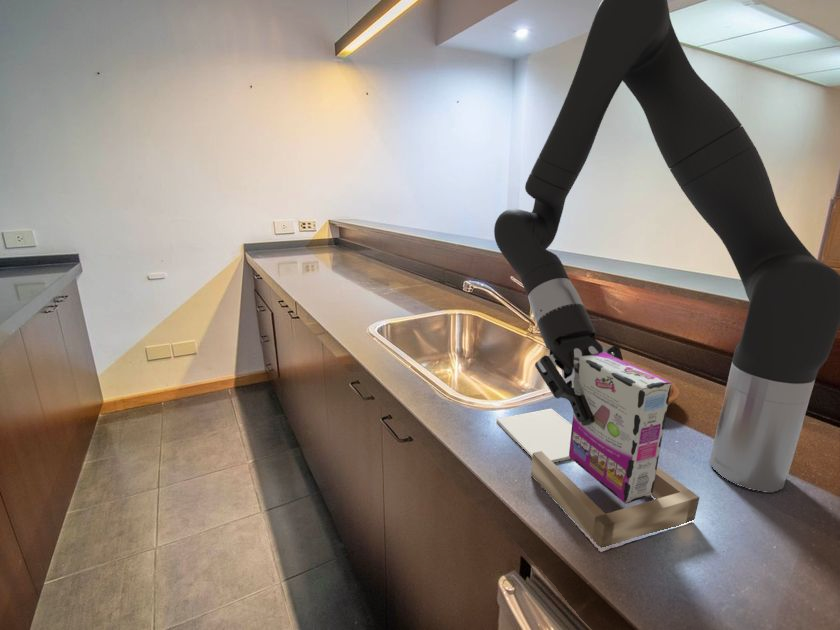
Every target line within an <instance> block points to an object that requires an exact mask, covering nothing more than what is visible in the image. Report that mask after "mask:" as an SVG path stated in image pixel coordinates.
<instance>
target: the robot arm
mask: <svg viewBox="0 0 840 630" xmlns="http://www.w3.org/2000/svg"><path fill="white" fill-rule="evenodd" d="M668 3H669V2H668V0H602V1H601V2H600V4H599V5H598V8H597V10H596V12H595V14H594V17H593V21H592V23H591V27H590V29H589V32H588V35H587V38H586V41H585V44H584V48H583V50H582V54H581V57H580V60H579V62H578V66H577V68H576V70H575V74H574V75H573V76H574V77H573V79H572V82H571V85H570V87H569V90H568V92H567V95H566V97H565V99H564V102H563V104H562V106H561V109H560V111H559V113H558V116H557V117H556V120H555V122H554V124H553V126H552V129H551V130H550V133H549V135H548V137H547V139H546V140H545V142H544V145H543V147H542V148H541V150H540V153H539V154H538V157H537V159H536V161H535V163H534V165H533V167H532V168H531V171H530V173H529V175H528V178H527V180H526V182H525V186H524V189H525V192H526V194H527V195H528V196H530V197H531V198H532V199H534V203H533V209H532V211H528V210H527V211H526V210H525V209H524V210H523V209H518V208H510V209H509V208H508V209H506V210H505V211H503V212H502V213H501V214H500V215H498V217H497V219H496V221H495V223H494V231H493V232H494V233H493V234H494V240H495V243H496V246H497V248H498V249H499V251H500V253H501V254H502V255H503V257H504V258H505V260H506V261H507V262H508V264H509V265H510V267H511V268H512V270H513V271H515V273H516V274H517V275H518V277H519V278H520V281H521V284H522V287H523V289H524V291H525V293H526V296H527V299H528V301H529V302H528V303H529V306H530V311H531V312H532V314H533V318H534V320H535V322H536V325H537V327H538V330H539V332H540V335H541V338H542V340H543V342H544V345H545V346H546V347H545V348H547V349H548V350H549V354H548V355H542V357H540V359H539V360H537V361H536V362H535V364H534V366H535V368H536V370H537V372H538V373H539V375H540V376H541V378H542V379H543V381H544V382H545V384H546V386H547V388H548V389H549V391H550V392H551V394H552V395H553V397H554V398H556V399H560V398H562V399H566V400H568V402H569V403H570V406H571V408H572V410H573V412H574V413H575V416H576V418H577V420H578V421H579V422H581V424H582V425H583V426H585V425H589V424H591V423H593V422H594V421H595V419H594V416H593V414H592V412H591V410H590V407H589V405H588V403H587V400H586V398H585V396H582V395H581V394H582V387H581V385H580V382H579V378H580V376H579V373H578V364H579V357H580V356H586V355H592V354H597V353H604V352H605V353H607V354H610V355H612V356H614V357H616V358H618V359H621V360H623V361H624V359H623V355H622V350H621V348H620V346H619V345H617V344H614V345H612V346H609V347H608V346H602V344H601V343H600V342H599V341H598V340H597V339H596V335H595V333H596V331H595V329H596V328H595V327H594V325H593V323H592V321H591V319H590V316H589V314H588V311H587V310H586V307H585V305H584V303H583V301H582V299H581V297H580V294H579V292H578V291H577V289H576V288H575V286H574V285H573V284H572V282H571V281H572V280H570V277H569V275H568V273H567V271H566V269H565V267H564V265H563V263H562V261H561V259H560V257H558V256H557V254H555V253H554V252H551V251H549V250H548V248H549V247H550V246H551V245H552V244H553V241H554V240H555V238H556V235H557V233H558V229H559V225H560V224H561V218H562V215H563V211H564V207H565V203H566V199H567V197H568V195H569V194H570V192H571V189H572V188H573V186H574V184H575V182H576V180H577V179H578V177H579V175H580V173H581V171H582V169H583V167H584V165H586V161H587V159H588V157H589V155H590V153H591V150H592V148H593V145H594V143H595V140H596V137H597V134H598V132H599V129H600V126H601V124H602V122H603V119H604V117H605V115H606V112H607V109H608V108H609V106H610V104H611V101H612V100H613V98H614V96H615V94H616V93H617V91H618V89H619V87H620V85H621V84H622V82H623V83H624V84H625V86H626V87H627V88H628V90H629V91H630V92H631V93H632V95H633V96H634V97H635V99H636V101H637V102H638V104H639V105H640V107H641V109H642V110H643V112H644V115H645V116H646V120H647V122H648V126H649V128H650V130H651V131H650V132H651V133H652V136H653V138H654V140H655V142H656V146H657V147H658V149H659V152H660V155H661V156H662V158H663V160H664V162H665V164H666V166H667V168H668V169H669V171H670V172H671V174H672V176H673V178H674V179H675V181H676V182H677V185H678V186H679V187H680V189H681V191H682V192H683V193H684V195H685V197H686V198H687V199H688V201H690V204H692V206H693V207H694V209H695V210H696V211H697V212H698V214H699V215H700V216H701V217H702V219H703V220H704V221H705V222H706V223H707V225H709V227H710V228H711V229H712V230H713V231H714V232H715V234H716V235H717V236H718V238H719V239H720V240H721V242H722V244H723V245H724V247H725V248H726V250H727V252H728V254H729V256H730V258H731V260H732V263H733V264H734V267H735V268H736V271H737V273H738V275H739V277H740V281H741V283H742V285H743V288H744V292H745V294H746V297H747V299H748V300H749V307H748V311H747V316H746V320H745V323H744V328H743V331H742V336H741V339H740V340H739V343H736V346H735V348H734V352H733V356H732V359H731V360H732V361H731V365H730V369H729V373H728V378H727V383H726V386H725V391H724V396H723V401H722V405H721V408H720V409H721V410H720V412H719V413H720V414H719V417H718V423H717V426H716V432H715V435H714V440H713V443H712V447H711V452H710V457H709V462H710V463H709V465H710V464H711V465H710V467H711V466H712V467H713V469H714V470H716V471H717V472H718V473H719V474H721V475H722V476H723V477H725V478H726V479H728V480H729V481H731V482H734V483H736V484H739V485H742V486H744V487H747V488H751V489H755V490H759V491H767V492H766V493H775V492H774V491H777V492H779V491H778V490H780V489H781V490H782V489H784V486H785V484H786V477H787V476H788V477H789V475H790V474H789V473H790V469H791V467H792V464H793V460H794V456H795V454H796V453H795V452H796V449H797V446H798V444H799V439H800V437H801V432H802V429H803V424H804V419H805V417H806V413H807V410H808V407H809V403H810V399H811V396H812V393H813V392H812V391H813V388H814V385H815V381H816V379H817V375H818V373H819V370H820V369H821V368H822V367H823V365H824V364H825V363H826V361H827V360H828V358H829V355H830V353H831V350H832V348H833V344H834V342H835V339H836V336H837V334H838V331H839V327H840V273H838V271H837V270H835V269H834V268H832V267H831V266H829V265H827V264H825V263H824V262H822V261H820V260H818V259H817V258H816V257H815V256H814V255H813V254H812V253H811V252H810V251H809V250H808V249H807V247H806V246H805V245H804V244H803V243H802V241H801V240H800V239H799V237H798V236H797V235H796V233H795V232H794V230H793V229H792V227H790V225H789V223H788V222H787V220H786V219H785V217H784V216H783V214H782V212H781V210H780V207H779V205H778V202H777V200H776V196H775V193H774V189H773V186H772V183H771V180H770V177H769V175H768V172H767V169H766V167H765V164H764V161H763V159H762V157H761V156H760V154H759V152H758V149H757V147H756V145H754V144H755V143H754V142H753V141H752V139H751V137H750V136H749V135H748V132H747V131H746V129H745V127H744V126H743V125H742V123H741V122H740V120H739V119H738V118H737V116H736V115H735V114H734V112H733V111H732V109H731V108H730V107H729V106H728V105H727V104H726V102H724V100H723V99H722V98H721V97H720V96H719V94H718V93H716V92H715V91H714V90H713V89H712V88H711V87H710V86H709V85H708V84H707V82H705V81H704V80H703V79H702V77H700V76H699V74H698V73H697V72H696V71H695V69H694V68H693V66H692V64H691V62H690V60H688V57H687V55H686V53H685V51H684V49H683V47H682V45H681V43H680V40H679V38H678V36H677V33H676V31H675V29H674V26H673V23H672V20H671V17H670V8H669V4H668ZM557 367H558V368H559V369H560V370H561V373H560V372H559V370H558V368H557ZM712 467H711V468H712ZM713 469H712V470H713ZM714 470H713V471H714ZM723 477H722V478H723ZM788 477H787V478H788ZM726 479H725V480H726ZM728 480H727V481H728ZM729 481H728V482H729ZM731 482H730V483H731ZM736 484H735V485H736ZM781 490H780V491H781ZM759 491H758V492H759Z"/></svg>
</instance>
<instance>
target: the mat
mask: <svg viewBox="0 0 840 630" xmlns="http://www.w3.org/2000/svg"><path fill="white" fill-rule="evenodd" d="M496 423H497V424H498V425H499V426H500V427H501V428H502V429H503V430H504V431H505V432H506V434H508V435H509V436H510V437H511V438H512V440H513V441H514V442H515V443H516V442H517V443H518V444H519V445H520V446H521V447H522V448H521V447H520V448H521V449H522V450H523V449H524V450H525V451H526V452H527V453H528V454H529V455H530V456H531V457H532V456H533V453H535V452H539V451H542V452H543V453H544V454H545V455H546V456H547V457H548V458H549V459H550V460H551V461H552V462H553V463H554V464H555V462H556V463H559V461H560V462H563V461H569V460H572V459H571V458H570V457H569V450H570V440H571V431H572V423H571V422H569V421H568V420H567V419H565V418H564V417H563V416H562V415H560V414H559V413H558V412H556V411H555V410H554V409H553V408H546V409H541V410H537V411H531V412H525V413H519V414H515V415H509V416H504V417H499V418H496ZM517 443H516V444H517ZM518 444H517V445H518ZM519 445H518V446H519ZM524 450H523V451H524ZM525 451H524V452H525ZM526 452H525V453H526ZM527 453H526V454H527ZM528 454H527V455H528ZM529 455H528V456H529ZM530 456H529V457H530ZM531 457H530V458H531Z"/></svg>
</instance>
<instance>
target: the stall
mask: <svg viewBox="0 0 840 630" xmlns="http://www.w3.org/2000/svg"><path fill="white" fill-rule="evenodd" d="M530 469H531V470H530V476H531V475H532V476H533V477H534V478H535V479H536V480H537V482H538V483H539V484H540V485H541V486H542V487H543V488H544V489H545V490H546V491H547V493H549V495H550V496H551V497H552V498H553V499H554V500H555V501H556V502H557V503H558V505H560V506H561V508H563V509H564V511H565V512H566V513H567V514H568V515H569V516H570V517H571V518H572V519H573V520H574V521H575V523H577V524H578V525H579V527H580V528H582V529H583V530H584V531H585V532H586V533H587V534H588V535H589V536H590V538H591V539H593V541H594V542H596V544H597V545H598V546H600V547H601V548H602V547H606V546H609V545H612V544H616V543H620V542H622V541H626V540H629V539H631V538H635V537H639V536H642V535H646V534H649V533H653V532H657V531H660V530H664V529H668V528H671V527H676V526H679V525H681V524H684V523H687V522H689V521H692V520H694V519H696V513H697V511H698V510H697V509H698V506H699V501H700V496H699V495H697V494H696V493H695V492H694V491H693V490H691V489H689V488H688V487H686V486H685V485H684V484H682V483H681V482H679V480H677V479H675V478H674V476H673V477H672V476H671V475H670V474H668V473H667V472H665V470H663V469H662V468H660V467H659V466H657V470H656V476H655V482H654V488H653V494H652V496H653V497H654V498H656V499H655V500H654V499H652V500H648V501H646V502H645V501H644V502H642V503H637V504H633V505H632V506H627V507H624V508H621V509H617V510H614V511H611V512H608V513H605V512H604V511H603V510H602V509H601V508H600V507H599V506H598V505H597V504H596V503H595V502H594V501H593V500H592V499H591V498H590V497H589V496H588V495H587V494H586V493H585V492H584V491H583V490H582V489H581V488H580V487H578V485H577V484H576V483H575V482H574V481H572V479H571V478H569V476H567V474H565V472H563V471H562V470H561V469H560V468H559V467H558V465H556V464H555V463H553V462H552V461H551V460H550V459H549V458H548V457H547V456H546V455H545V454H544V453H543V452H542V451H539V452H535V453H533V456H532V458H531V468H530ZM532 476H531V477H532ZM533 477H532V478H533ZM537 482H536V483H537ZM538 483H537V484H538ZM539 484H538V485H539ZM540 485H539V486H540ZM541 486H540V487H541ZM542 487H541V488H542ZM547 493H546V494H547ZM549 495H548V496H549ZM550 496H549V497H550ZM558 505H557V506H558ZM694 521H695V520H694Z"/></svg>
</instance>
